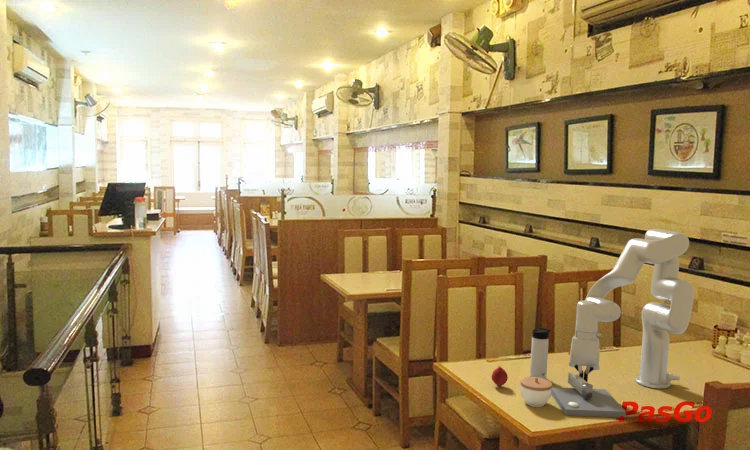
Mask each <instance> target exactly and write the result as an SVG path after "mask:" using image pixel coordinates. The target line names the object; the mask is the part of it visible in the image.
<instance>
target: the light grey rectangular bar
mask: <svg viewBox="0 0 750 450" xmlns="http://www.w3.org/2000/svg"><path fill="white" fill-rule="evenodd" d="M567 384H569V385H570V386H571V388H575V389H576V390H577V391H578V392H579V393H580V394H581V396H582V397H584V399H590V398H592V391H593V389H594V386H593V384H591V383H589V382H588V381H587V382H586V381H585V380H584V377H583V378H581V377H580V376H579V373H576V372H575V371H569V372H568V376H567Z"/></svg>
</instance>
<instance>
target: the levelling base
mask: <svg viewBox="0 0 750 450" xmlns="http://www.w3.org/2000/svg"><path fill="white" fill-rule="evenodd" d="M551 396H552V397H553V400H554V401H555V402H556V403H557V405H558V406H559V408H560V410H561V411H562V412H563V414H564V416H578V417H580V416H582V417H584V416H585V417H607V418H608V417H609V418H622V417H621V416H624V417H623V418H626V417H627V416H626V415H627V411H626V409H624V408H623V407H622V405H621V404H619V402H618V401H617V399H615V398H614V397H613V396H612V395H611V394H610V392H609V391H608V390H607V389H605V388H603V389H602V388H593V391H592V398H590V399H584V397H582V396H581V394H580V393H579V392H578V391H577V390H576V389H575V388H573V387H557V386H556V387H555V386H554V387H553V386H552V390H551Z"/></svg>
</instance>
